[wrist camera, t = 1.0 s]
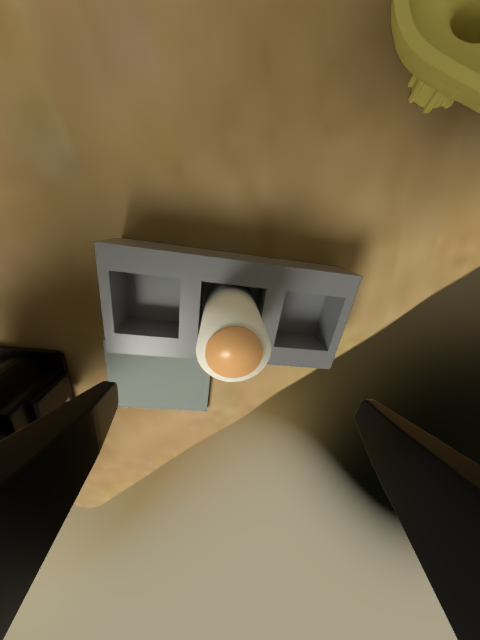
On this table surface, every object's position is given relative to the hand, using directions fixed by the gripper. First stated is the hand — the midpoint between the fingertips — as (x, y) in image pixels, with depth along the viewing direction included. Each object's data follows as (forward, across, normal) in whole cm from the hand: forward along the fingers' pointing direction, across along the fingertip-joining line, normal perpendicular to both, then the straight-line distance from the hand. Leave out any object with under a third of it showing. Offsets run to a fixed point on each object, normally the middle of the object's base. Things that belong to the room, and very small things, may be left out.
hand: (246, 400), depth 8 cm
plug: (+12, 0, 0) cm, 12 cm away
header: (+13, 0, 0) cm, 13 cm away
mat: (+13, +6, +9) cm, 17 cm away
